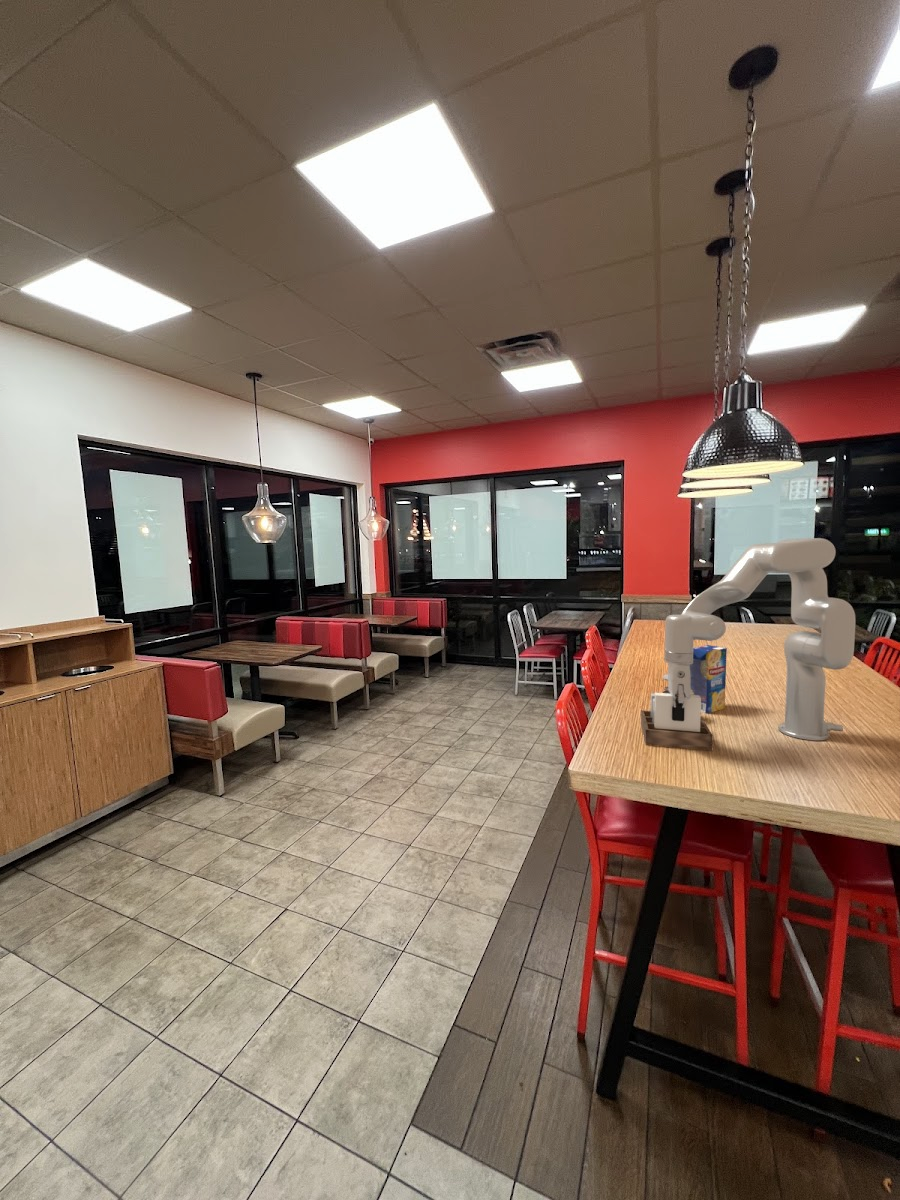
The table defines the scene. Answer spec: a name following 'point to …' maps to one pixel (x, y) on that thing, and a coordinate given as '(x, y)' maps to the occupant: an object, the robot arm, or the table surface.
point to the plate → (665, 713)
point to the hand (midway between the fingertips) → (677, 718)
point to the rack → (675, 735)
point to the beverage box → (709, 677)
